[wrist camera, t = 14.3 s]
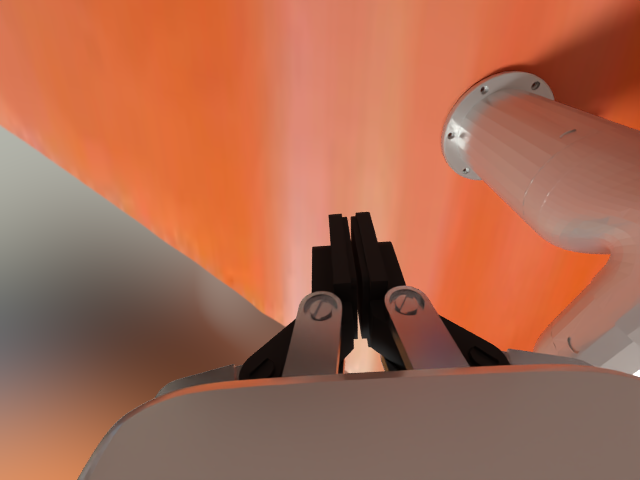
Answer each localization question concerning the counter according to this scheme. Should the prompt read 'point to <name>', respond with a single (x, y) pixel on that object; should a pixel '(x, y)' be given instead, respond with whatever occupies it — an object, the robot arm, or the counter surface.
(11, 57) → the counter surface
